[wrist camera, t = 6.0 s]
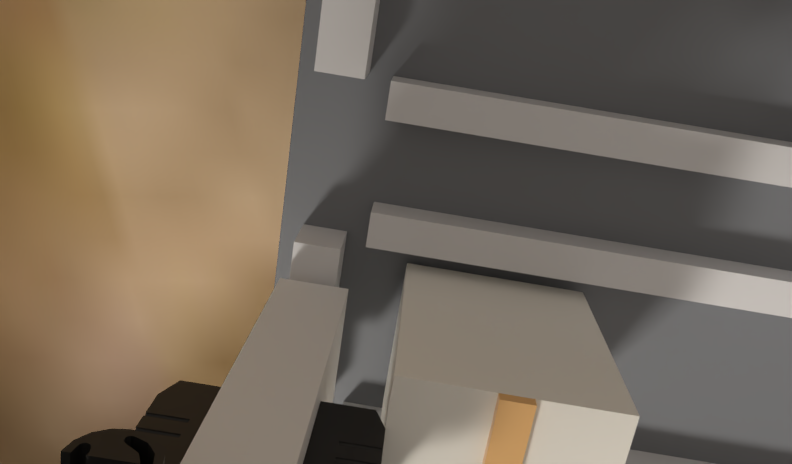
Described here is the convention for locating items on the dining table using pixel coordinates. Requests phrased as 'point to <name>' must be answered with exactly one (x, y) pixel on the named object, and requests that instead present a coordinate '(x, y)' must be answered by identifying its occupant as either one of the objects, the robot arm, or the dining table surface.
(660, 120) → the grey compartment tray
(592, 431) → the white taped box
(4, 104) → the dining table surface
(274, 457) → the robot arm
